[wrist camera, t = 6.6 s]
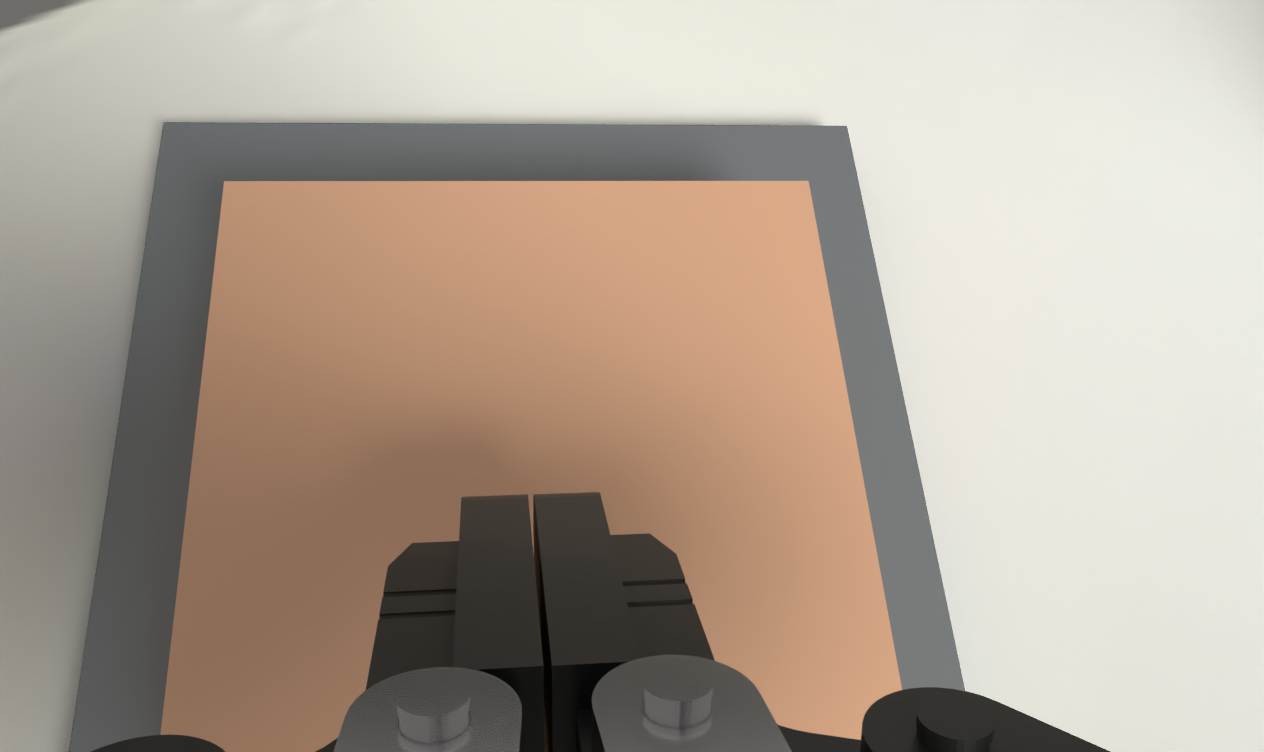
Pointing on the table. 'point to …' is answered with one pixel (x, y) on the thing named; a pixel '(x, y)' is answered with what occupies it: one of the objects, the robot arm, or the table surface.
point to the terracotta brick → (517, 428)
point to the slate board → (216, 152)
